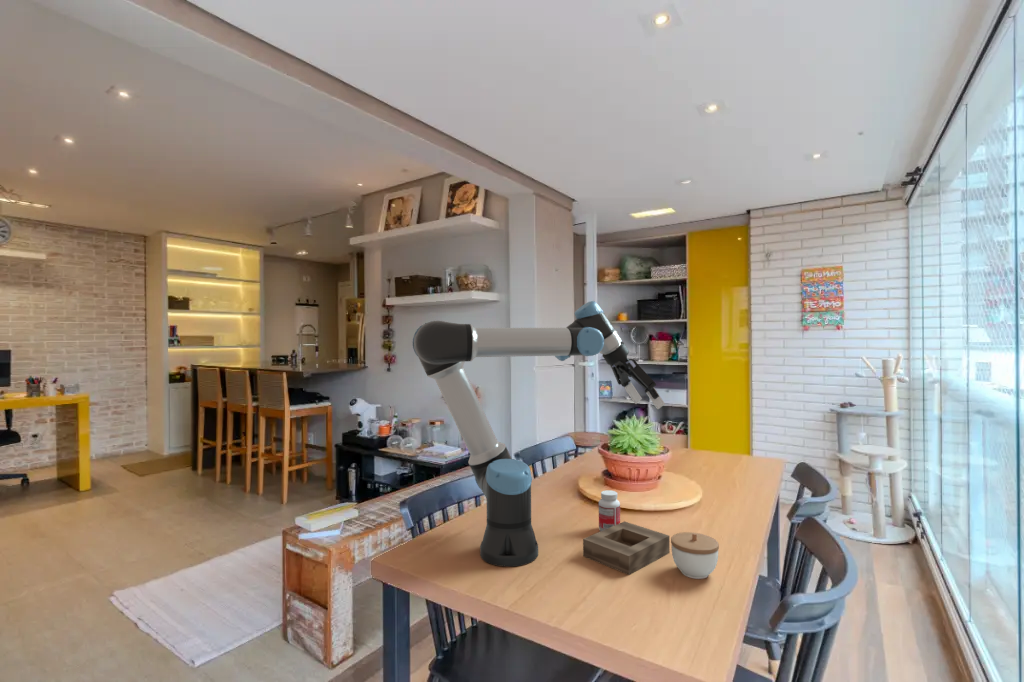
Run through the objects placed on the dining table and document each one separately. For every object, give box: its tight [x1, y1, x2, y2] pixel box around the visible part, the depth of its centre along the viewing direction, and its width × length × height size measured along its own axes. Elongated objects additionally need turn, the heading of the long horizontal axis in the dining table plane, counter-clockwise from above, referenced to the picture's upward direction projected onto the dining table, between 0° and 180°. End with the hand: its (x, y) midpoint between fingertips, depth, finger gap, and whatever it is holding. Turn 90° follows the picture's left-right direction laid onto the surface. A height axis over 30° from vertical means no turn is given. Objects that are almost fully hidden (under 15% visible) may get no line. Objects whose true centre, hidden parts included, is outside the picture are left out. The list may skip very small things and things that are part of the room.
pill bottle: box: [598, 489, 621, 532], centre depth 147 cm, size 6×6×11 cm
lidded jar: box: [670, 531, 720, 580], centre depth 121 cm, size 11×11×9 cm
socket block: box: [582, 520, 671, 576], centre depth 131 cm, size 18×14×4 cm
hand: (649, 403), depth 156 cm, fingers open, 13 cm apart
